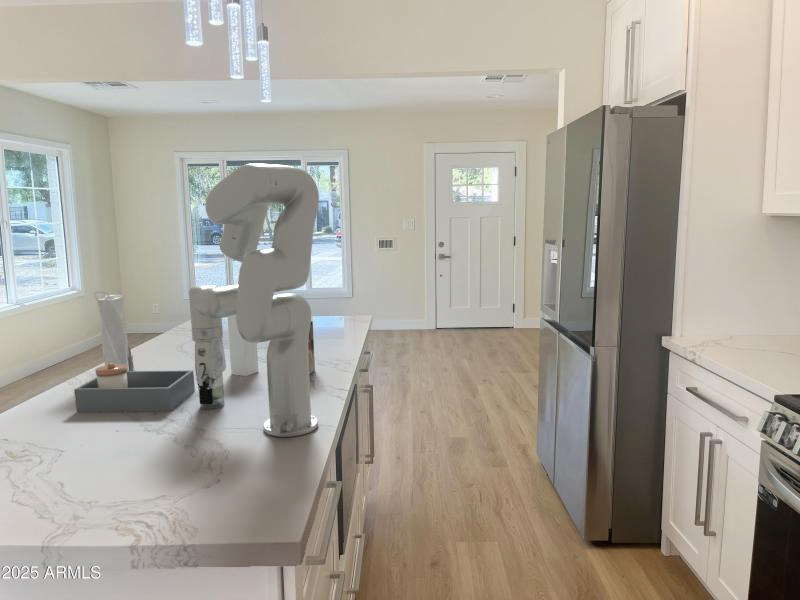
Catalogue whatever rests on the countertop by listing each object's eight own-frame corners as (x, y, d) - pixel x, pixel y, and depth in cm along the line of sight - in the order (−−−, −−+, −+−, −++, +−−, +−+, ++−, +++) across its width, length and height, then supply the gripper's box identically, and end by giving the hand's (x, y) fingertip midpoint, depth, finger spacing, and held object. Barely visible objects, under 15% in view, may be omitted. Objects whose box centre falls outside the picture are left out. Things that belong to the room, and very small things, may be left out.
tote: (171, 415, 144) (169, 388, 142) (77, 416, 144) (74, 389, 143) (195, 394, 159) (193, 370, 158) (110, 395, 160) (107, 371, 159)
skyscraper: (105, 387, 167) (95, 293, 163) (101, 381, 174) (92, 290, 169) (136, 382, 172) (127, 290, 167) (132, 376, 178) (123, 287, 174)
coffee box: (296, 369, 183) (294, 320, 180) (315, 370, 181) (313, 320, 179) (285, 378, 174) (282, 326, 171) (305, 378, 173) (302, 326, 170)
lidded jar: (121, 406, 148) (117, 366, 146) (93, 406, 148) (89, 367, 146) (135, 396, 155) (131, 359, 154) (108, 397, 155) (104, 359, 154)
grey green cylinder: (220, 409, 147) (218, 379, 146) (196, 409, 147) (194, 379, 146) (227, 401, 153) (225, 372, 152) (205, 401, 153) (203, 372, 152)
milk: (231, 374, 179) (225, 305, 175) (244, 369, 184) (239, 302, 180) (246, 376, 176) (241, 306, 172) (259, 371, 181) (254, 303, 178)
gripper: (210, 340, 139) (215, 410, 141) (232, 326, 156) (236, 388, 159) (179, 340, 139) (185, 410, 142) (204, 326, 156) (209, 388, 159)
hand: (212, 398), depth 150 cm, fingers open, 7 cm apart
